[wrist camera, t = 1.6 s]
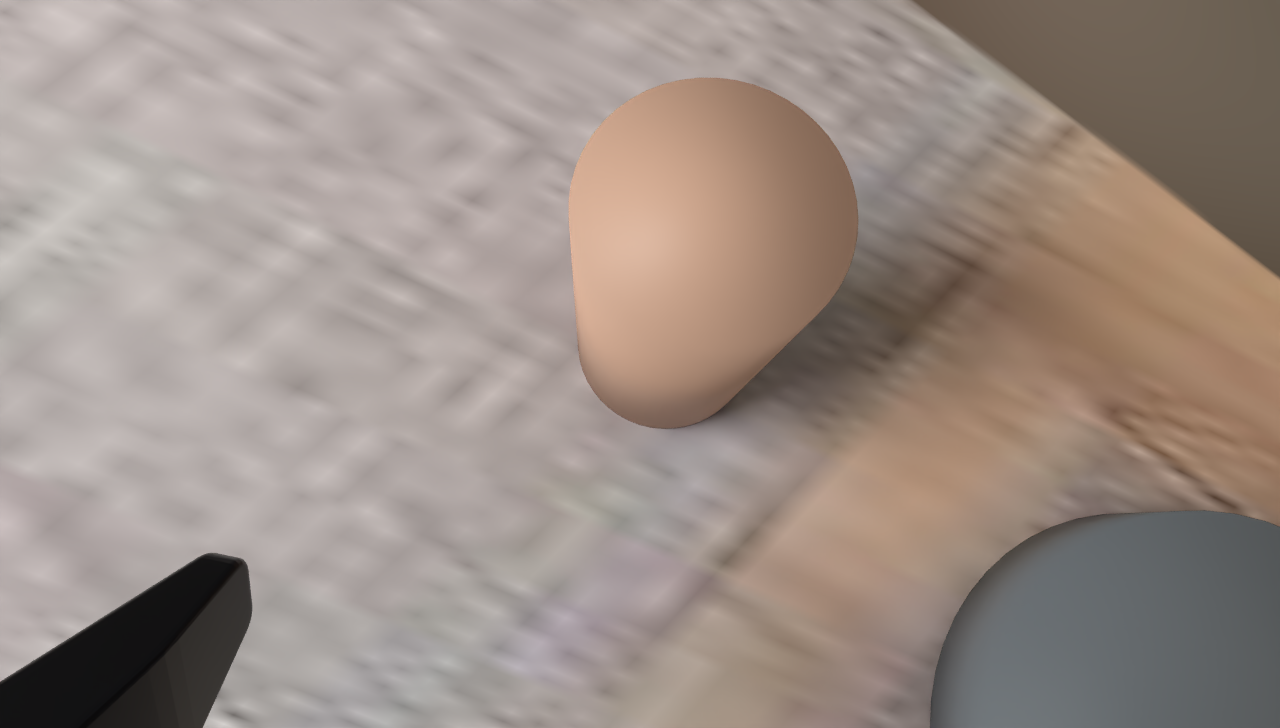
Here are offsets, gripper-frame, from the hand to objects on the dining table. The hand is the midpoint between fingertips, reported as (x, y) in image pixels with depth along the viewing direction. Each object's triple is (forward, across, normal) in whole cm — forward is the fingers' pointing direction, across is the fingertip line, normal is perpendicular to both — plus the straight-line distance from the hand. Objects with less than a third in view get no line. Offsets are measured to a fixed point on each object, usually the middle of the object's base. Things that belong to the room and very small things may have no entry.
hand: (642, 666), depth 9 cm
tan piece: (+15, 0, +5) cm, 15 cm away
